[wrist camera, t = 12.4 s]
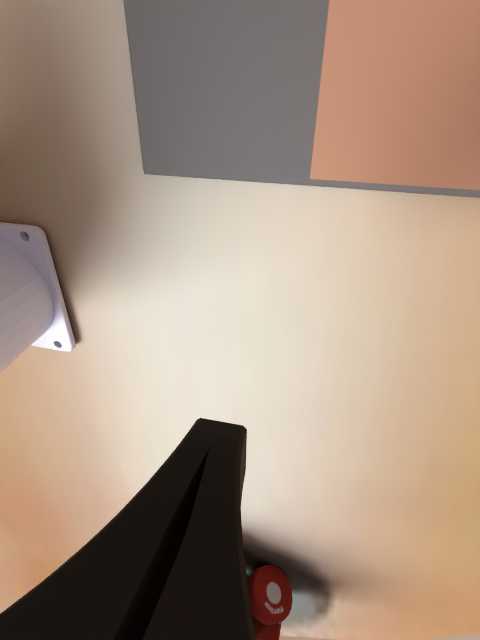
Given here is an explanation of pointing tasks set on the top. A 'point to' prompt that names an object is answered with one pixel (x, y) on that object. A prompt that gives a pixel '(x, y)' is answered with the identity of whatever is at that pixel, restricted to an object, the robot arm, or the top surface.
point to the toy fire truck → (269, 601)
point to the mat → (233, 90)
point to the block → (400, 94)
